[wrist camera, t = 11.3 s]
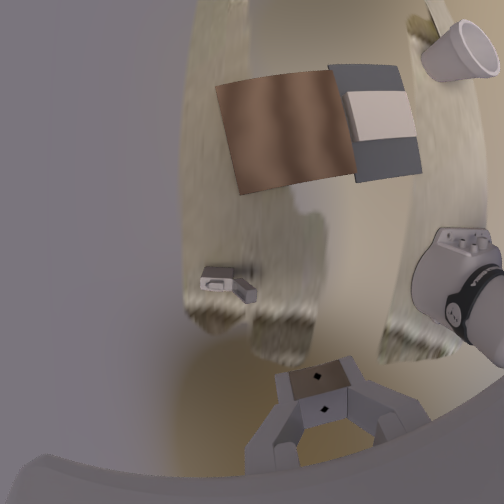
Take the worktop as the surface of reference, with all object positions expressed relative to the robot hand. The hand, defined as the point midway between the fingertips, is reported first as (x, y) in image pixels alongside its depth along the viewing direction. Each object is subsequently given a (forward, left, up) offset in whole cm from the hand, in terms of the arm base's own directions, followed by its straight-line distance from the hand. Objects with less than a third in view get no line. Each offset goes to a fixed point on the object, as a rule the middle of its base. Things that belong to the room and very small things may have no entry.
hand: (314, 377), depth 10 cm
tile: (-20, -13, -29) cm, 37 cm away
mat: (-20, -13, -29) cm, 38 cm away
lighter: (+6, +5, -29) cm, 30 cm away
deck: (-6, -13, -29) cm, 32 cm away
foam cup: (-36, -23, -29) cm, 52 cm away
